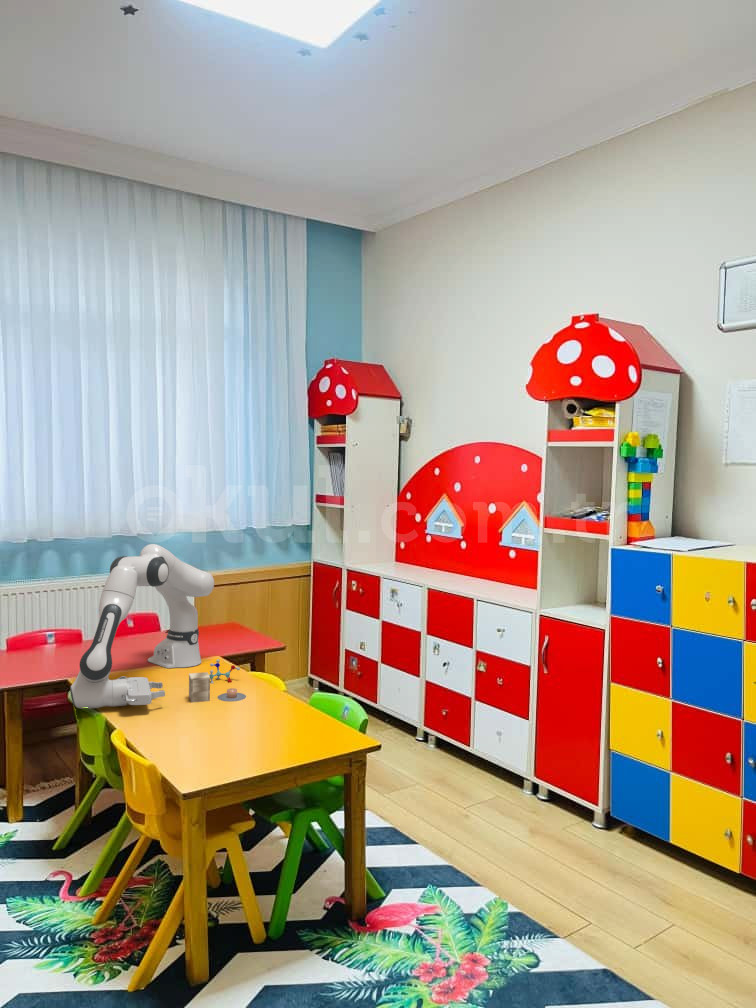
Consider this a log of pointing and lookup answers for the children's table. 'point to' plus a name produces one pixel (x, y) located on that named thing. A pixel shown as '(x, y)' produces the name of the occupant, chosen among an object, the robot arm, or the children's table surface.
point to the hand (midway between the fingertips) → (163, 689)
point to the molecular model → (220, 672)
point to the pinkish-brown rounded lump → (231, 693)
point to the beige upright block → (199, 687)
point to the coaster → (224, 698)
